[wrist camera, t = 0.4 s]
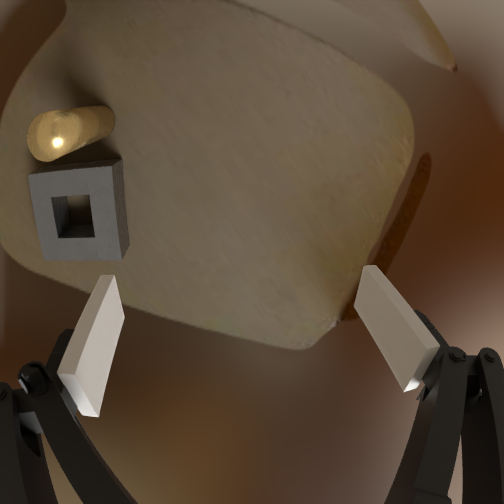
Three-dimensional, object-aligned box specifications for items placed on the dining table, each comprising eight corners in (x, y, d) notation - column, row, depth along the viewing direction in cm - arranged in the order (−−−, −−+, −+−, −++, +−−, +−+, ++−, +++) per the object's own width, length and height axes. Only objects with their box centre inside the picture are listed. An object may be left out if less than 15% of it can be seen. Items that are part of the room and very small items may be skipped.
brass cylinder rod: (83, 107, 31) (26, 116, 19) (115, 103, 32) (66, 108, 20) (84, 140, 33) (29, 164, 21) (115, 137, 34) (69, 158, 22)
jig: (44, 166, 34) (28, 174, 30) (122, 158, 35) (111, 166, 31) (56, 245, 39) (44, 260, 35) (129, 244, 41) (121, 260, 37)
